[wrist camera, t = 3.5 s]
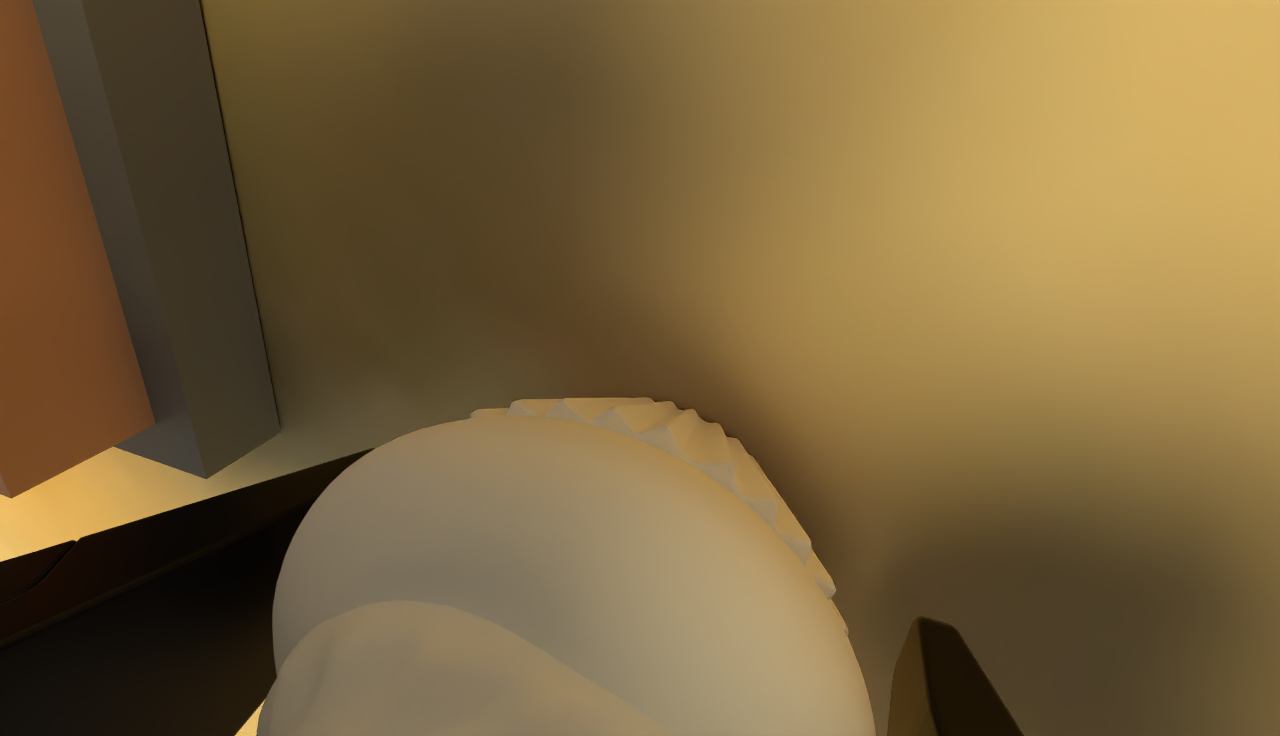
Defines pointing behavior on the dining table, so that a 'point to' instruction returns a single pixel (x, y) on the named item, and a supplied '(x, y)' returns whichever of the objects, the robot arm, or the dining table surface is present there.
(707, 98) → the dining table surface
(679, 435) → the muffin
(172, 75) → the pocket board
